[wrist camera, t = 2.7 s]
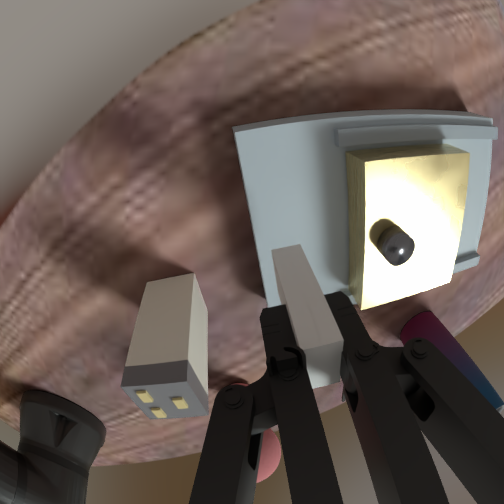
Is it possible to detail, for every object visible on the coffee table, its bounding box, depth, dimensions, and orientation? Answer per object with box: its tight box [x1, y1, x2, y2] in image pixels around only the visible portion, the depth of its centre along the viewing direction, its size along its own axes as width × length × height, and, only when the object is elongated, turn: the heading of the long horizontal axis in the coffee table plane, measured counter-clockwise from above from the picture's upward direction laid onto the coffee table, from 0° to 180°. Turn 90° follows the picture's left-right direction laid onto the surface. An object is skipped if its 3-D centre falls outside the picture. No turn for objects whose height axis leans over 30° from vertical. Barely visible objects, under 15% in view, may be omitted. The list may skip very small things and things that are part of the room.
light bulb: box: [231, 383, 281, 483], centre depth 25 cm, size 7×7×12 cm
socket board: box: [232, 109, 498, 308], centre depth 19 cm, size 20×14×4 cm
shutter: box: [345, 143, 470, 310], centre depth 17 cm, size 8×10×4 cm
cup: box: [400, 311, 504, 413], centre depth 23 cm, size 7×7×15 cm
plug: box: [121, 273, 209, 419], centre depth 19 cm, size 4×4×10 cm
